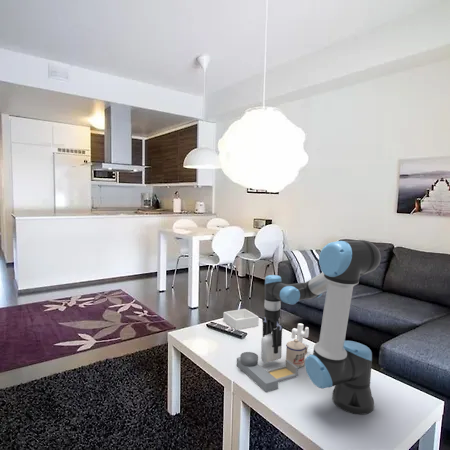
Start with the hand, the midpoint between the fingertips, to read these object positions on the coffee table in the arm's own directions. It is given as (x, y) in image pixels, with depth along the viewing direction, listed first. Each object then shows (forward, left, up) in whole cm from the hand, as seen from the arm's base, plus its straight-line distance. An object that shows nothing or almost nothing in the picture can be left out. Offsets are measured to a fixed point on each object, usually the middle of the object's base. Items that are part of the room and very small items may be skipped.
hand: (271, 357), depth 157 cm
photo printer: (0, 0, -1) cm, 1 cm away
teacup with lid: (-3, -13, -4) cm, 14 cm away
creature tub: (+51, -13, -4) cm, 52 cm away
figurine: (+5, -21, -4) cm, 22 cm away
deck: (-5, +5, -4) cm, 9 cm away
